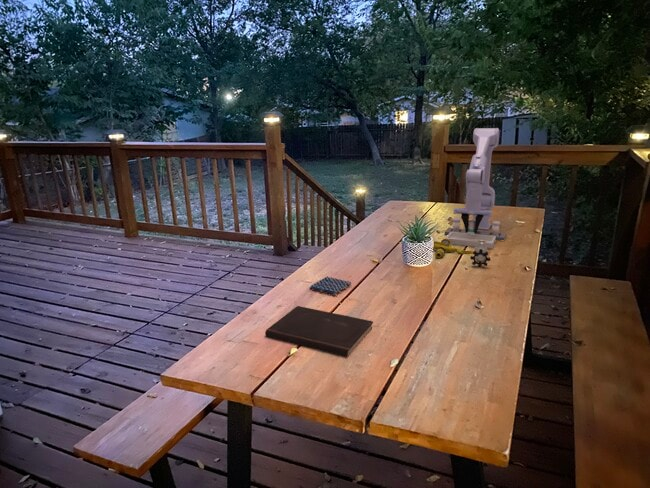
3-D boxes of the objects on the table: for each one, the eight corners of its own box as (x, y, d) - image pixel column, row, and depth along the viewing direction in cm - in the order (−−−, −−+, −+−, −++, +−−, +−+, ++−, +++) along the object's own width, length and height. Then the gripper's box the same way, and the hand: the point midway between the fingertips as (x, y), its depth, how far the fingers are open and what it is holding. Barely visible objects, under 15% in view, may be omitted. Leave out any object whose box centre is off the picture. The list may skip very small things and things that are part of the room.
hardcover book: (297, 313, 129) (297, 305, 128) (373, 329, 118) (373, 321, 118) (265, 338, 115) (264, 330, 115) (347, 359, 105) (347, 350, 104)
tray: (450, 237, 191) (450, 231, 191) (495, 242, 183) (495, 236, 183) (445, 244, 183) (445, 238, 182) (492, 249, 175) (492, 243, 174)
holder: (448, 230, 201) (448, 227, 200) (505, 236, 190) (506, 233, 190) (444, 235, 195) (444, 231, 194) (503, 241, 184) (504, 237, 184)
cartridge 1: (452, 232, 198) (453, 217, 196) (459, 233, 197) (460, 217, 194) (451, 234, 195) (452, 218, 193) (458, 235, 194) (459, 219, 192)
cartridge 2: (491, 236, 191) (492, 220, 189) (499, 237, 190) (500, 221, 187) (490, 238, 188) (491, 222, 186) (498, 239, 187) (499, 222, 185)
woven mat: (353, 286, 145) (353, 281, 145) (335, 299, 137) (335, 292, 136) (326, 280, 151) (326, 275, 150) (307, 291, 142) (307, 286, 142)
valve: (471, 255, 169) (469, 266, 158) (472, 239, 167) (470, 249, 156) (490, 257, 167) (489, 268, 156) (491, 240, 165) (491, 250, 154)
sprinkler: (417, 245, 168) (426, 233, 181) (415, 255, 170) (424, 242, 183) (470, 257, 161) (476, 244, 174) (468, 267, 163) (474, 254, 176)
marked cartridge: (467, 236, 185) (468, 220, 183) (475, 237, 184) (476, 220, 181) (466, 238, 182) (467, 221, 180) (474, 239, 181) (475, 222, 179)
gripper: (452, 199, 178) (450, 233, 182) (491, 202, 172) (488, 236, 176) (456, 196, 184) (454, 228, 188) (494, 198, 178) (491, 232, 182)
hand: (471, 232), depth 182 cm, fingers closed on marked cartridge, 3 cm apart
